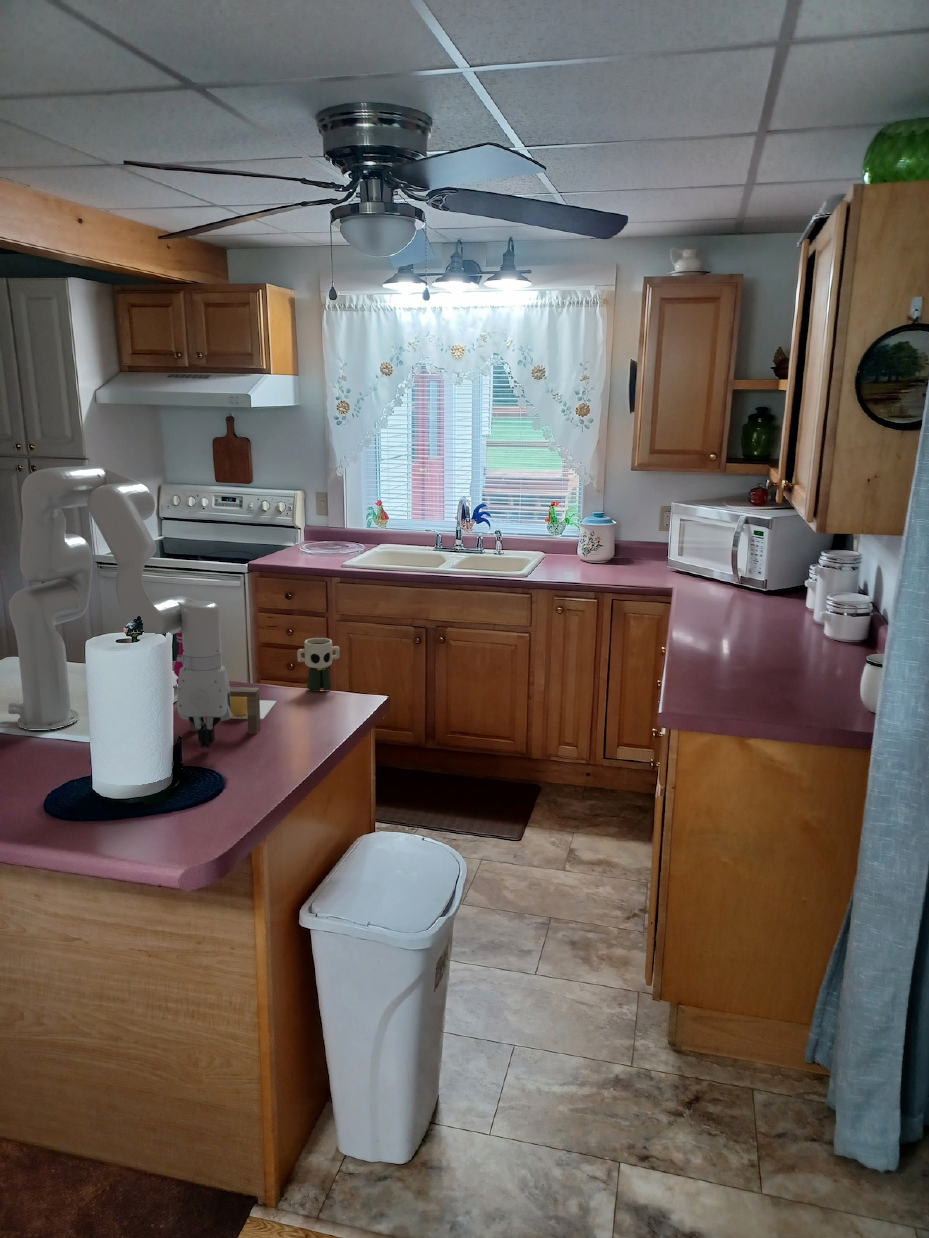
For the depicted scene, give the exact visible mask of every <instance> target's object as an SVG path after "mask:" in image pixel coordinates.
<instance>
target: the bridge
mask: <svg viewBox="0 0 929 1238" xmlns="http://www.w3.org/2000/svg"><path fill="white" fill-rule="evenodd" d="M229 688H230V696H232V697H247V716H248V719H247V734H258V733H259V732H260V730H261V719H260V700H261V699H260V688H259V687H245V686H244V687H242V686H239V687H238V686H229ZM189 726H190V729H189V730H190V732H198V729H196V727H195V725H194V724H193V723H192V722H191V721H190V720H189Z"/></svg>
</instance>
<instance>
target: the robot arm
mask: <svg viewBox="0 0 929 1238" xmlns="http://www.w3.org/2000/svg"><path fill="white" fill-rule="evenodd" d="M20 498H21V499H20V500H21V508H22V526H21V536H20V537H21V538H20V551H19V552H20V553H19V570H20V571H21V574H22V575H23V577H24V578H25V579H26V580H28V581H30V582H34V583H35V582H36V583H38V584H35V585H30V586H27V587H24V588H22V589H19V590H17V591H16V592H15V593H14V594H13V595H12V596H11V598H10V599H9V602H8V613H9V617H10V620H11V623H12V626H13V629H14V633H15V639H16V644H17V652H18V662H19V669H20V670H19V671H20V681H21V691H22V693H21V694H22V701H23V703H19V702H10V703H9V704H8V708H7V709H8V710H7V711H8V714H10V715H16V714H17V715H19V718H18V719H17V726H18V725H19V726H21V727H23V728H26V729H52V728H57V727H60V726H66V725H68V724H70V723H71V722H74V721H75V720H76V719H78V717H79V718H80V716H79V713H78V711H76V710H74V709H71V697H70V686H69V685H70V684H69V674H68V661H67V653H66V651H67V650H66V644H65V642H64V640H63V639H64V638H63V637H62V636H61V634H60V633H59V632H58V630H57V628H56V626H57V625H59V624H63V623H67V622H70V621H74V620H77V619H79V618H81V617H82V616H84V614H85V613H86V612H87V610H88V608H89V604H90V597H91V588H92V580H93V579H92V578H93V577H92V576H93V568H94V567H93V566H94V557H93V552H92V549H91V546H90V545H89V543H88V541H86V539H85V538H84V537H82V536H80V535H78V534H74V533H67V519H66V516H65V515H64V512H63V509H68V508H69V509H71V508H79V507H87V508H88V511H89V513H90V515H91V518H92V519H93V521H94V523H95V525H96V526H97V528H98V530H99V532H100V534H101V535H102V538H103V539H104V541H105V543H106V545H107V547H108V549H109V550H110V552H111V554H112V556H113V558H114V559H115V562H116V565H117V570H116V575H115V590H116V591H115V592H116V593H115V594H116V599H117V602H118V606H119V607H120V609H121V611H122V613H123V616H124V617H125V618H126V621H127V622H128V624H129V623H130V622H131V621H133V620H134V619H137V617H138V616H140V617H141V620H142V623H143V631H144V633H155V634H165V633H168V632H169V633H171V635H170V636H172V635H177V633H180V632H182V639H183V654H182V655H178V654H177V656H176V659H177V661H178V662H182V663H183V666H184V667H182V668H180V672H179V678H178V677H177V678H178V687H177V692H176V693H177V695H176V697H177V698H176V702H177V703H176V705H177V706H176V709H177V713H178V716H179V717H178V718H180V719H183V720H186V721H189V722H190V721H191V722H192V723H193V724H194V725H195V727H196V729H198V731H197V740H198V743H200V748H206V749H207V748H210V747H211V746H212V744H213V743H214V742H215V739H216V737H215V727H216V726H217V725H218V724H219V723H220V722H224V721H230V719H232V718H231V717H232V715H231V712H230V708H231V696H230V688H229V687H230V682H229V678H228V673H227V670H226V667H225V665H223V662H222V661H223V660H222V659H223V657H222V637H221V636H222V633H221V614H220V613H221V612H220V607H219V605H218V604H217V603H215V602H213V601H209V600H196V599H193V598H190V597H188V596H184V595H174V596H170V597H169V596H168V597H166V598H162V599H158V600H155V601H152V600H151V598H150V596H149V594H148V592H147V590H146V587H145V584H144V579H143V573H144V568H145V566H146V564H147V562H148V561H149V560H151V558H152V557H153V556H154V555H155V554H156V552H157V549H158V548H157V544H156V542H155V540H154V538H153V537H152V535H151V533H150V532H149V530H148V528H147V526H146V524H145V522H144V521H146V520H148V519H149V518H151V517H152V516H153V515H154V512H155V509H156V508H155V507H156V501H155V498H154V496H153V493H152V492H151V491H150V490H149V489H148V487H146V485H144V484H143V483H141V482H140V481H137V480H135V479H134V478H131V477H129V476H126V475H123V474H121V473H119V472H117V471H114V470H112V469H109V468H106V467H104V466H101V465H78V466H77V465H76V466H75V465H74V466H58V467H57V466H56V467H48V468H43V469H39V470H36V471H33V472H31V473H30V474H29V475H28V476H27V477H25V479H24V481H23V482H22V485H21V490H20ZM43 582H44V583H43ZM205 718H207V720H206V719H205ZM78 720H79V719H78ZM19 726H18V727H19Z"/></svg>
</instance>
